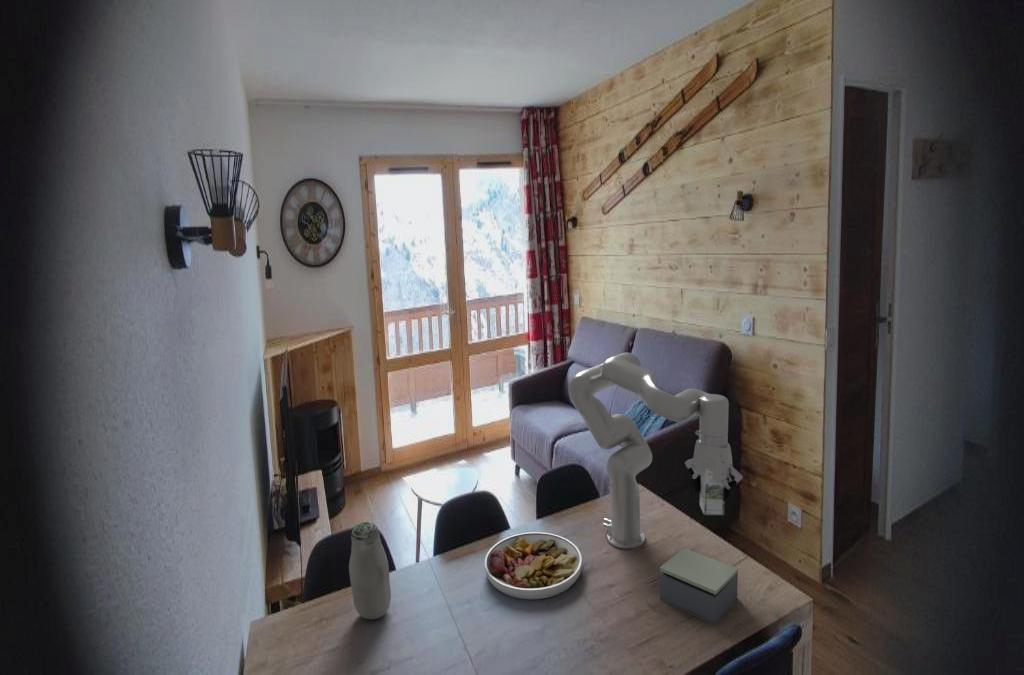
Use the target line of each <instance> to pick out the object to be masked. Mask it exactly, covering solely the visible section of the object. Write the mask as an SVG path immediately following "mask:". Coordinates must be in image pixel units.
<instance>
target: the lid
mask: <svg viewBox="0 0 1024 675" xmlns="http://www.w3.org/2000/svg"><path fill="white" fill-rule="evenodd" d="M659 571H660V573H661V572H664V573H666V574H668V575H671V576H673V577H675V578H678V579H680V580H682V581H685V582H687V583H689V584H692V585H694V586H696V587H699V588H701V589H703V590H706V591H708V592H710V593H713V594H715V595H716V594H717V593H718V592H719V591H720V590H721V589H722V588H723V587H724V586H725V585H726V584H727V583H728V582H729V581H730V580H731V579H732V578H733V577H734V575H735V574H736V573H737V572H738V571H739V569H738V568H737V567H735V566H732V565H729V564H726V563H724V562H721V561H719V560H717V559H713V558H711V557H708V556H705V555H703V554H701V553H698V552H695V551H692V550H690V549H688V548H685V547H683V548H682V549H680V551H678V552H677V553H675V554H674V555H673V556H672V557H671V558H670V559H668V560H667V561H666V562H665V563H663V564H662V565H661V566H660V567H659ZM738 573H739V572H738Z"/></svg>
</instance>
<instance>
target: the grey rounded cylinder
mask: <svg viewBox="0 0 1024 675" xmlns="http://www.w3.org/2000/svg"><path fill="white" fill-rule="evenodd" d="M350 535H351V536H350V538H351V548H350V550H351V553H350V557H349V564H348V572H349V579H350V585H351V586H350V587H351V592H352V593H351V594H352V601H353V606H354V608H355V610H356V612H357V613H358V614H359V616H360V617H362V618H363V619H366V620H377V619H381V617H383V616H385V614H386V613H388V610H389V608H390V604H391V601H392V599H391V598H392V590H391V582H390V570H389V561H388V557H387V552H386V551H385V548H384V546H383V544H382V540H381V536H380V530H379V527H378V526H377V525H376V524H375V523H373V522H370V521H363V522H359V523H356V524H355V525H354V527H353V528H352V531H351V534H350Z"/></svg>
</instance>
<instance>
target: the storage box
mask: <svg viewBox="0 0 1024 675" xmlns="http://www.w3.org/2000/svg"><path fill="white" fill-rule="evenodd" d="M738 573H739V572H737V573H736V574H735V575H734V577H733V578H732V579H731V580H730V581H729V582H728V583H727V584H726V585H725V586H724V587H723V588H722V589H721V590H720V591H719V592H718V593H717V594H716V595H715V594H713V593H710V592H708V591H706V590H703V589H701V588H699V587H696V586H694V585H692V584H689V583H687V582H685V581H682V580H680V579H678V578H675V577H673V576H671V575H668V574H666V573H664V572H661V571H660V573H659V600H660V601H662V602H664V603H666V604H668V605H671V606H672V607H675V608H677V609H679V610H680V611H681V610H682V611H683V612H685V613H687V614H690V615H692V616H694V617H696V618H698V619H701V620H703V621H705V622H707V623H708V624H711V625H713V626H717V624H718V623H719V622H720V620H721V619H722V618H723V617H724V615H725V614H726V613H727V611H728V610H729V609H730V608H731V607H732V606H733V604H734V603H735V602H736V601H737V599H738V580H739V578H738V577H739V574H738Z"/></svg>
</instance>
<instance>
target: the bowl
mask: <svg viewBox="0 0 1024 675" xmlns="http://www.w3.org/2000/svg"><path fill="white" fill-rule="evenodd" d="M582 556H583V555H582V553H581V551H580V549H579V548H578V547H577V545H576V544H575V543H573V542H572V541H571V540H569V539H567V538H565V537H563V536H561V535H557V534H555V533H554V534H553V533H550V532H542V531H541V532H537V531H533V532H532V531H531V532H523V533H518V534H514V535H510V536H508V537H505V538H502V539H501V540H500V541H498V542H496V543H495V544H494V545H493V546H491V547H490V549H489V550H488V551H487V553H486V555H485V558H484V571H485V574H486V577H487V579H488V581H489V582H490V584H492V586H493V587H494V588H496V589H497V591H500V592H501V593H503V594H504V595H507V596H509V597H512V598H516V599H519V600H520V599H522V600H543V599H548V598H551V597H555V596H557V595H560V594H562V593H563V592H565V591H567V590H568V589H569V588H570V587H572V586H573V585H574V584H575V582H576V581H577V580H578V578H579V577H580V574H581V572H582V568H583V557H582Z"/></svg>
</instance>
